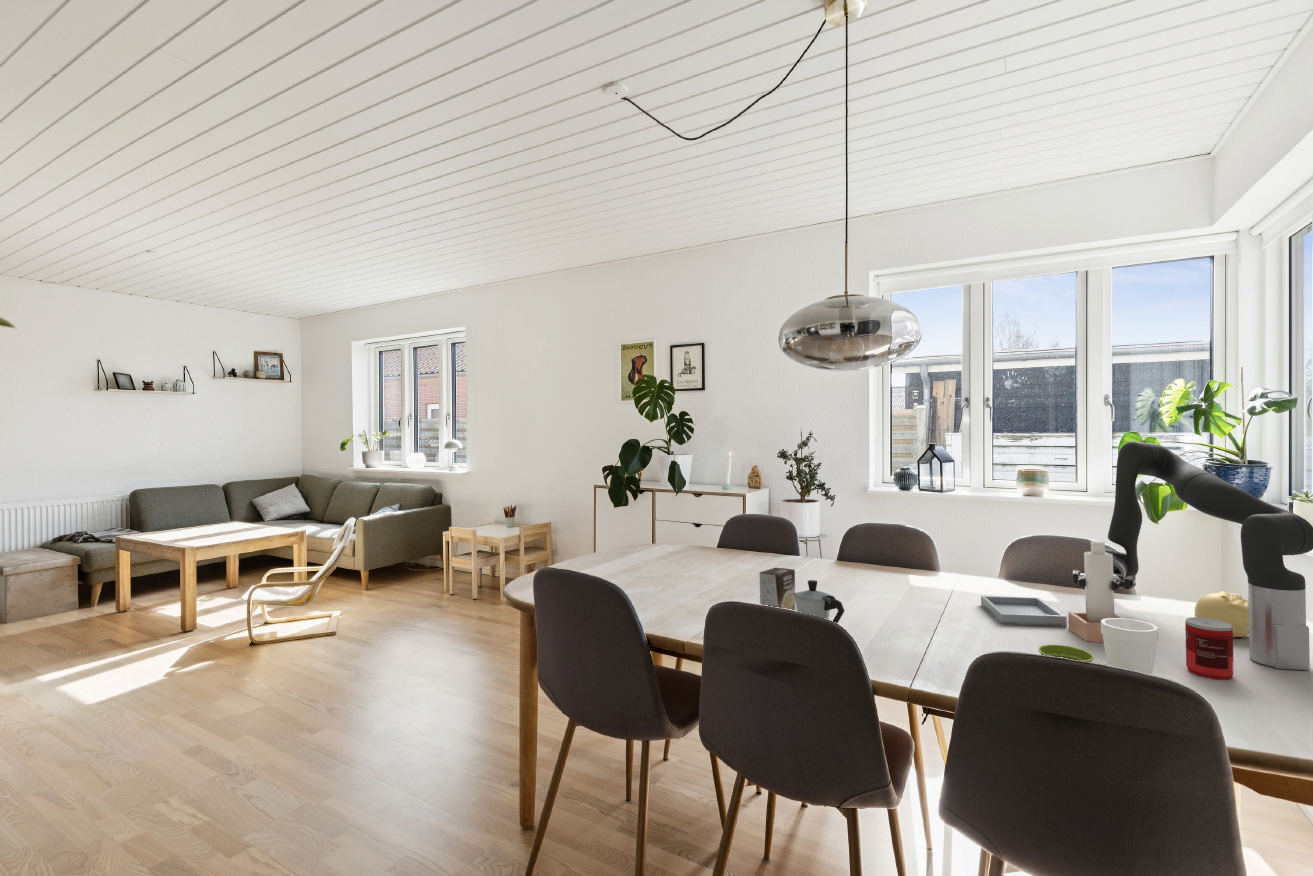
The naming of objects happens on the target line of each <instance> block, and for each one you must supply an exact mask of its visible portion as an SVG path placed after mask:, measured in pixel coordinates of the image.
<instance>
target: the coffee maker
mask: <svg viewBox="0 0 1313 876" xmlns="http://www.w3.org/2000/svg"><path fill="white" fill-rule="evenodd" d="M807 585H808V589H807V590H803V591H798V592H795V593H792V594H793V595H794V597H795V609H796V612H797V611H798V612H802V613H807V614H811V615H815V616H819V617H822V618H826V619H830V611H831V610H835V609H836V610H837V612H836V614H835V616H834V618H833V619H832V621H833V622H836V623H837V624H838V623H839V622H840V620H841V618H842V616H843V615H844V613H845V608H844V605H843V602H841V601H840V600H839V599H837V598H836V597H835V596H834V595H831V594H829V593H827V592H824V591H820V590H817V587H818V580H814V579H809V580H808V581H807Z"/></svg>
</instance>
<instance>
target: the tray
mask: <svg viewBox="0 0 1313 876" xmlns="http://www.w3.org/2000/svg"><path fill="white" fill-rule="evenodd" d="M981 604H982V605H983V606H984V607H983V606H982V605H981ZM980 605H981V606H982V607H983V609H985V608H986V609H987V610H988V611H989V612H990V613H991V614H992V615H993V616H994V617H995V618H997V619H998V620H997V619H996V620H997V622H999V623H1000V622H1001V623H1002V624H1016V625H1015V626H1029V625H1039V626H1038V627H1056V626H1064V627H1063V628H1067V627H1068V624H1067V623H1068V621H1067V616H1068V615H1067V616H1066V615H1065V614H1064V613H1062V612H1060V611H1059V610H1058V609H1056V608H1055V607H1054V606H1052V605H1050V604H1049V603H1047V602H1046V601H1045V600H1044V599H1042V598H1041V597H1034V596H1032V597H1031V596H1028V597H1027V596H1026V597H1025V596H993V595H980ZM986 609H985V610H986ZM987 610H986V611H987ZM988 611H987V612H988ZM989 612H988V613H989ZM990 613H989V614H990ZM991 614H990V615H991ZM992 615H991V616H992ZM993 616H992V617H993ZM995 618H994V619H995ZM1001 623H1000V624H1001ZM1002 624H1001V625H1002Z"/></svg>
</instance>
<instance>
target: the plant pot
mask: <svg viewBox="0 0 1313 876" xmlns="http://www.w3.org/2000/svg"><path fill="white" fill-rule="evenodd" d="M1037 650H1038V652H1039V653H1040V656H1041V655H1045V656H1052V657H1053V656H1054V657H1063V658H1068V659H1073V660H1077V661H1085V662H1091V663H1092V662H1093V661H1094V660H1095V656H1094V654H1093V653H1091V652H1089V651H1087V650H1085V649H1082V648H1079V647H1075V646H1070V645H1064V644H1044V645H1041V646H1039V647H1038V649H1037Z"/></svg>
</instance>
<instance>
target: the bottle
mask: <svg viewBox="0 0 1313 876" xmlns="http://www.w3.org/2000/svg"><path fill="white" fill-rule="evenodd" d="M1105 549H1106V541H1102V540H1101V541H1099V540H1093V541H1091V540H1090V551H1085V552H1083V557H1084V558H1083V560H1084V561H1083V563H1084V564H1083V565H1084V574H1085V587H1084V589H1085V590H1084V591H1085V592H1084V593H1085V613H1086V621H1087V622H1088V623H1101V620H1102V619H1106V618H1115V615H1116V614H1115V590H1112V581H1113V554H1110V553H1105Z"/></svg>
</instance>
